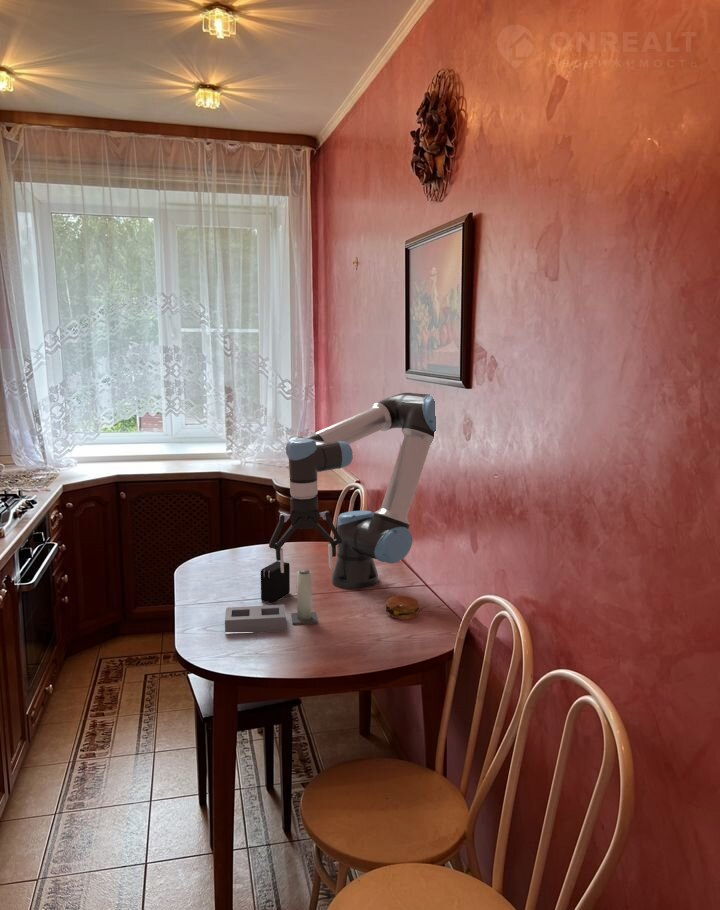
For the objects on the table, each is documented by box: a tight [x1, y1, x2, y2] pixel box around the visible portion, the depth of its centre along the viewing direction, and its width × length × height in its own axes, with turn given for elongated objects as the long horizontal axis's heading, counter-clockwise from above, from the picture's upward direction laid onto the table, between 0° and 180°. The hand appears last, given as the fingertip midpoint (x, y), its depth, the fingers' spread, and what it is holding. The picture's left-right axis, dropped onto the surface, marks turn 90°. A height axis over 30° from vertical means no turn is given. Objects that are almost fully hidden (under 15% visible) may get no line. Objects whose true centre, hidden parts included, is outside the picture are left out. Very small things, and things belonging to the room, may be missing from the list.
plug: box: [296, 568, 313, 620], centre depth 189 cm, size 4×4×14 cm
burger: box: [385, 594, 421, 621], centre depth 194 cm, size 10×9×5 cm
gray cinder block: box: [224, 604, 287, 633], centre depth 185 cm, size 16×9×4 cm, turn 99°
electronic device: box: [260, 560, 291, 604], centre depth 206 cm, size 4×10×10 cm, turn 155°
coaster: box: [290, 611, 319, 626], centre depth 190 cm, size 7×7×1 cm
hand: (306, 569), depth 190 cm, fingers open, 13 cm apart
